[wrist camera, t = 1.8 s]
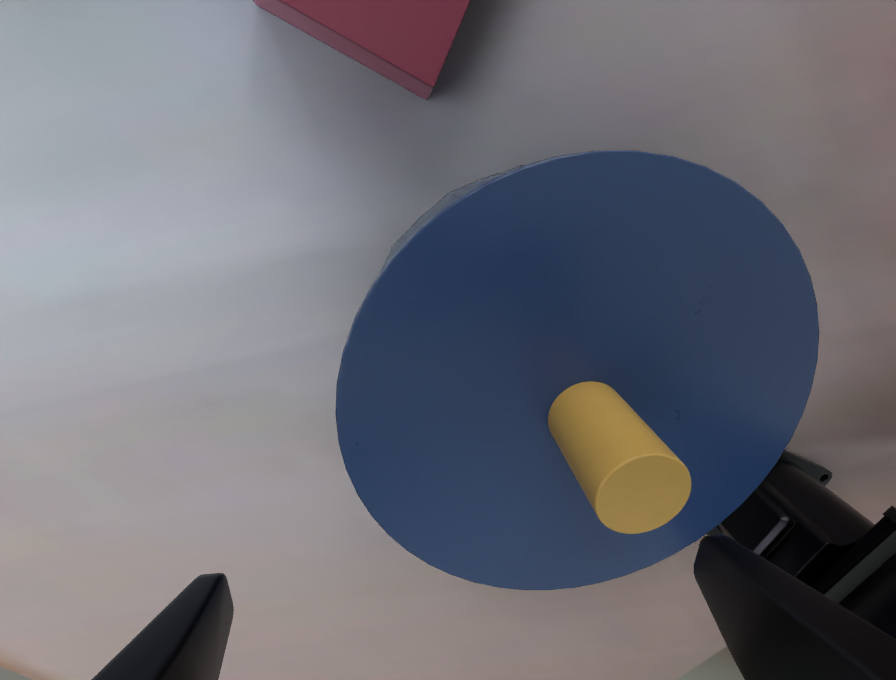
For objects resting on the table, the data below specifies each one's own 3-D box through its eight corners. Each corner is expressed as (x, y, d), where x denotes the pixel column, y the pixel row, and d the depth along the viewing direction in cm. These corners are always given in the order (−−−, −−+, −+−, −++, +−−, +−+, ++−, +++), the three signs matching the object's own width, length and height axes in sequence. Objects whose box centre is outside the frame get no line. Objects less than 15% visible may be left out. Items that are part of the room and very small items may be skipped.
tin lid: (886, 288, 16) (1093, 342, 11) (627, 604, 21) (694, 734, 16) (476, 34, 12) (528, -50, 7) (273, 504, 17) (223, 640, 12)
